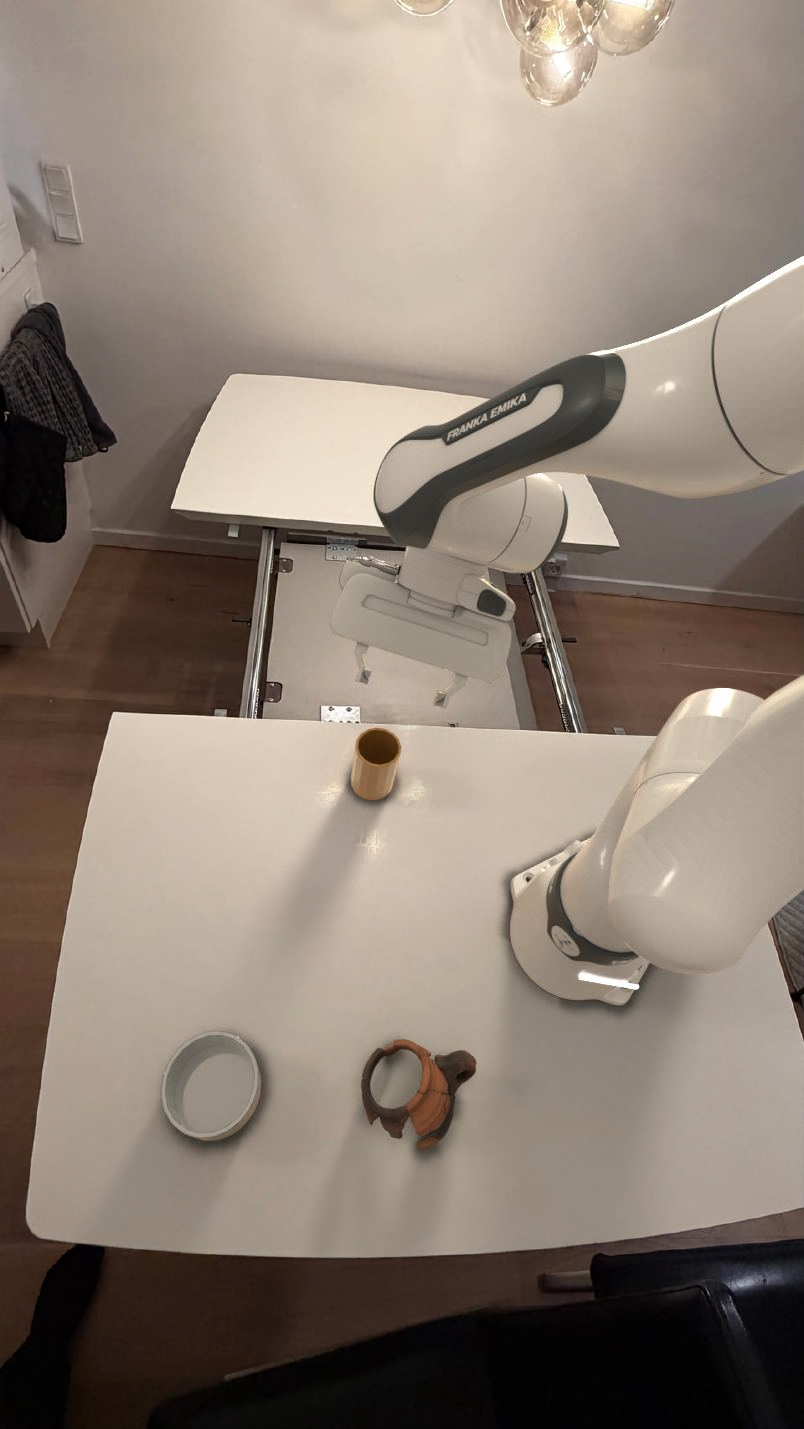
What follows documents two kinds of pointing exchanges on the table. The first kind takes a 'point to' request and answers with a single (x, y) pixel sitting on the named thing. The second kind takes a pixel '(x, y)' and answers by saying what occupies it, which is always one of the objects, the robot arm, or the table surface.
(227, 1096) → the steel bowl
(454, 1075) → the pottery mug
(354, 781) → the tan hollow cylinder
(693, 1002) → the table surface
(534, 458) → the robot arm
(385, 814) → the table surface
